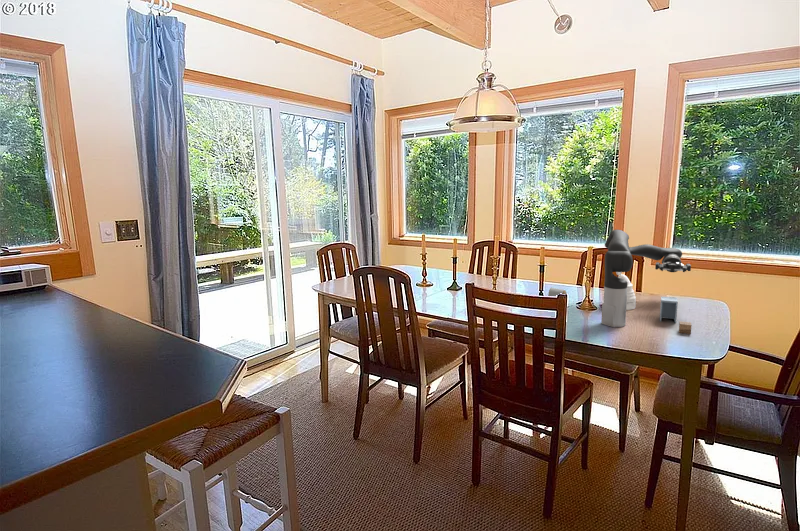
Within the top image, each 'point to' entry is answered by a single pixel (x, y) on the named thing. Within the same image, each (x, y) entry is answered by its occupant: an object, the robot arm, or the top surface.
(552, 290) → the ceramic mug
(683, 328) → the cube
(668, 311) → the tall pale blue box
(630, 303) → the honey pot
